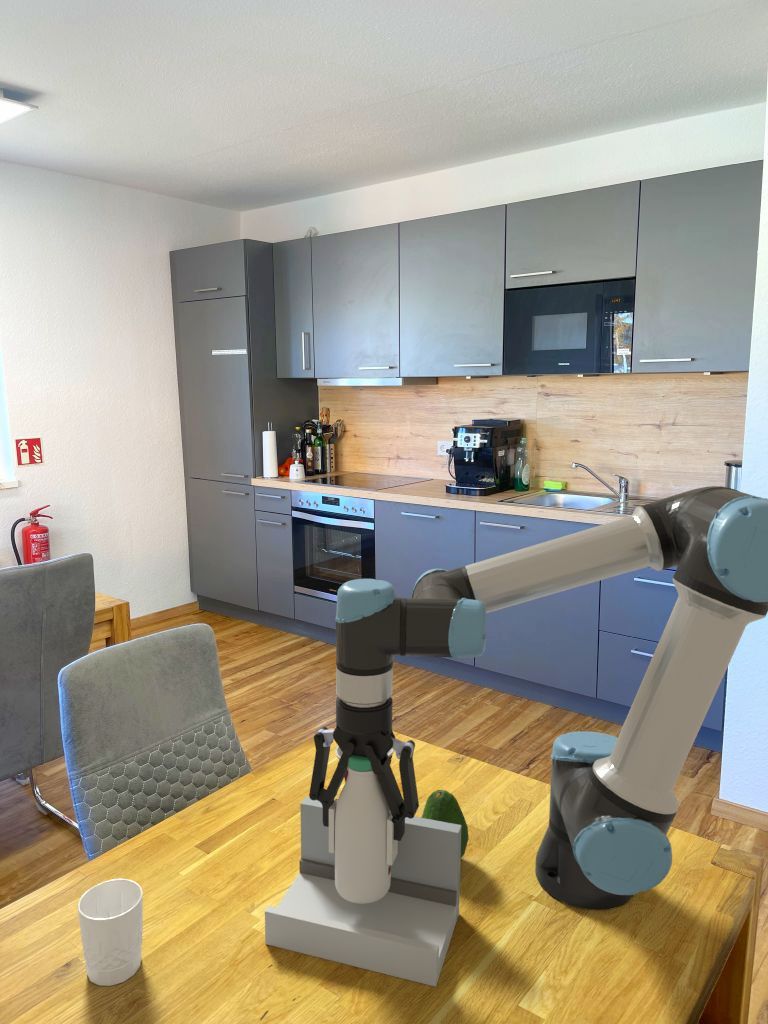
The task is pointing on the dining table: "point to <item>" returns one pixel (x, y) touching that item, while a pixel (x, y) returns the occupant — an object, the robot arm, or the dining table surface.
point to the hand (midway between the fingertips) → (363, 852)
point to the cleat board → (374, 903)
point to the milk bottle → (361, 836)
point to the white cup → (112, 930)
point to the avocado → (446, 813)
